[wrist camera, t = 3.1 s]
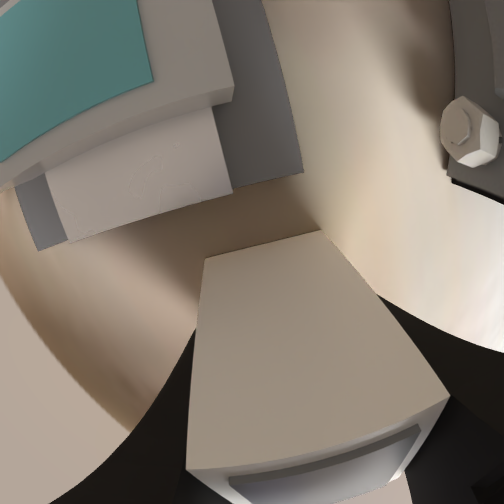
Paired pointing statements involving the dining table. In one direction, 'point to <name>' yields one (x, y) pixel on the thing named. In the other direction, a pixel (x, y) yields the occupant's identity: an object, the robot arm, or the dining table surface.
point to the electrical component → (477, 99)
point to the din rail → (141, 175)
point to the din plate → (217, 118)
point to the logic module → (302, 379)
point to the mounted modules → (100, 74)
